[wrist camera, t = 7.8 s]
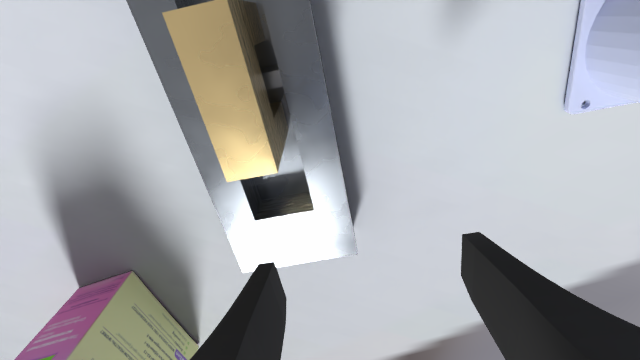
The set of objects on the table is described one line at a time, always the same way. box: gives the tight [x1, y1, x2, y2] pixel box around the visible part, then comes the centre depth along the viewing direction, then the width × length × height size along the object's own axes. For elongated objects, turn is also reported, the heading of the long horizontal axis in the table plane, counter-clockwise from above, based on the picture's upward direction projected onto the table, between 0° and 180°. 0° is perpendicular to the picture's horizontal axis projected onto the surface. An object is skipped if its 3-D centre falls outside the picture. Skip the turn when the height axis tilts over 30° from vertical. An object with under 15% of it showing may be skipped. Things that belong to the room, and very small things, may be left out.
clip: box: [162, 0, 288, 182], centre depth 15 cm, size 2×7×6 cm, turn 11°
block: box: [126, 0, 358, 273], centre depth 17 cm, size 8×24×3 cm, turn 12°
